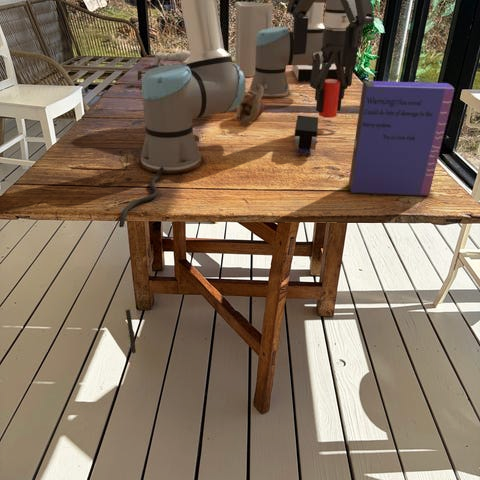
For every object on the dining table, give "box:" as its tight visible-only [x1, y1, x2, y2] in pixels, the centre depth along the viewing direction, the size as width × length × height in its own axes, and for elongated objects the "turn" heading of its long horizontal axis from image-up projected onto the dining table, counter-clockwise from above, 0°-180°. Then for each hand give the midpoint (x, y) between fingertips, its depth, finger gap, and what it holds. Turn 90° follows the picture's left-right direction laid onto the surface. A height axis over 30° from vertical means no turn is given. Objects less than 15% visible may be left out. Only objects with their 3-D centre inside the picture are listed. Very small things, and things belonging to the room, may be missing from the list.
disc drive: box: [292, 63, 338, 82], centre depth 211 cm, size 18×22×5 cm
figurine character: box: [292, 115, 319, 156], centre depth 131 cm, size 7×8×15 cm
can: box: [318, 79, 341, 119], centre depth 145 cm, size 6×6×10 cm
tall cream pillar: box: [234, 1, 274, 78], centre depth 210 cm, size 19×15×28 cm
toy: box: [153, 50, 190, 67], centre depth 224 cm, size 24×25×7 cm
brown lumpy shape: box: [235, 84, 265, 127], centre depth 152 cm, size 13×9×15 cm
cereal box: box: [348, 80, 455, 197], centre depth 104 cm, size 17×5×24 cm, turn 86°
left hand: (322, 59), depth 90 cm, fingers open, 13 cm apart
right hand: (328, 110), depth 147 cm, fingers closed on can, 5 cm apart
